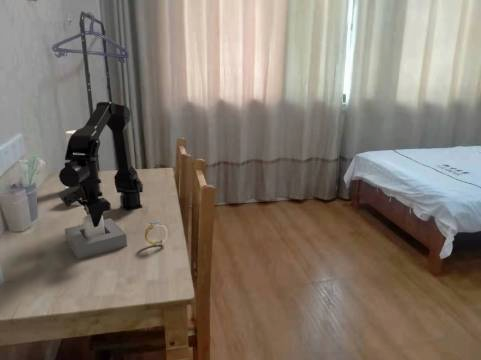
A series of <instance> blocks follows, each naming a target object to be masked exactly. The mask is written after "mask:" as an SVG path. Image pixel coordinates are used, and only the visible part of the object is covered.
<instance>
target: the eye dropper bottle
mask: <svg viewBox="0 0 481 360" xmlns="http://www.w3.org/2000/svg"><path fill="white" fill-rule="evenodd" d="M88 214H89V213H88ZM103 220H104V216H103V215H102V217H101V219H100V222H99V225H98V226H97V227H94V225H93V222H92V219H91V216H90V214H89V215H87V214H86V215H85V216H84V217H83V221H82V222H83V224H84V229H85V237H86V239H88V238H92V237H96V236H100V235H104V234H105V229H104V221H103Z"/></svg>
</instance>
